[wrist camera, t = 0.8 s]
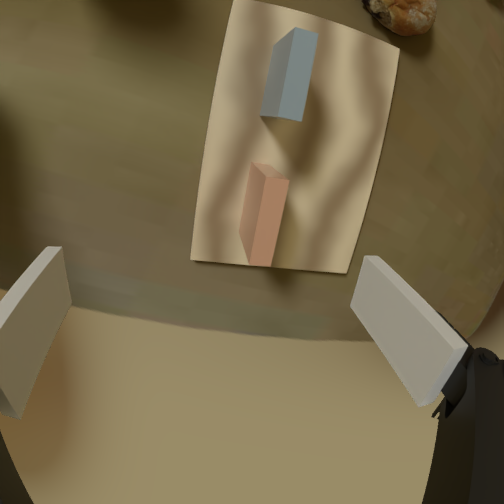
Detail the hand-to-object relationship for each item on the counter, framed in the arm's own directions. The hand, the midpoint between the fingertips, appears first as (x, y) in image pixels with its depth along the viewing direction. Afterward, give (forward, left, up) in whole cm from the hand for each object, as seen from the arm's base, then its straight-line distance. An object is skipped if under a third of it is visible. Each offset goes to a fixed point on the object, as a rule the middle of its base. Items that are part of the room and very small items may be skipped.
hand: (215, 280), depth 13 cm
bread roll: (+18, +27, -23) cm, 40 cm away
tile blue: (+5, +11, -22) cm, 25 cm away
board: (+9, +5, -23) cm, 25 cm away
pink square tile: (+5, -2, -22) cm, 22 cm away
